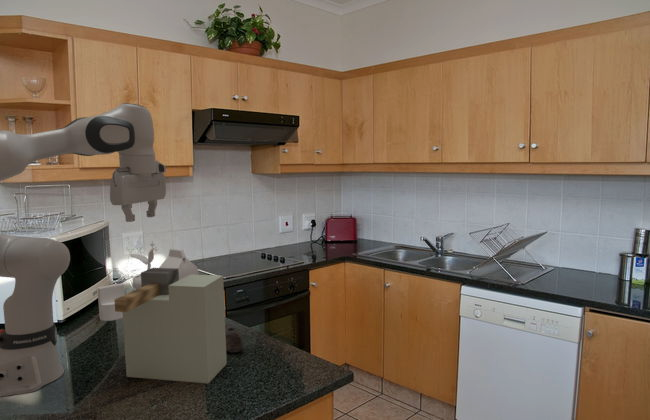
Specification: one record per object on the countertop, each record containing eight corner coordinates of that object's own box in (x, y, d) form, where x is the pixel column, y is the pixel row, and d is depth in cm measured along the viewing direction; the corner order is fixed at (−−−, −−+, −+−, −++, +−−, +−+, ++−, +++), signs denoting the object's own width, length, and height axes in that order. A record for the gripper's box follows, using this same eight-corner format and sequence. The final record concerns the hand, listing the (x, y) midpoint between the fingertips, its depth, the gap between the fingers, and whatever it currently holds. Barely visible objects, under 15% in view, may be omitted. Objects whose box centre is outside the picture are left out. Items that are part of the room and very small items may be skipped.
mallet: (135, 312, 113) (133, 288, 112) (106, 311, 115) (104, 287, 114) (179, 289, 133) (178, 268, 133) (154, 288, 135) (153, 267, 134)
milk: (156, 319, 174) (153, 250, 171) (181, 311, 183) (178, 245, 181) (178, 325, 167) (174, 254, 165) (202, 316, 177) (199, 248, 174)
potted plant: (167, 295, 206) (164, 239, 203) (155, 303, 194) (151, 243, 192) (140, 294, 207) (136, 239, 205) (126, 302, 196) (122, 243, 193)
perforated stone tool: (218, 340, 153) (218, 319, 152) (235, 337, 155) (234, 317, 154) (226, 357, 139) (225, 335, 138) (243, 355, 141) (242, 332, 140)
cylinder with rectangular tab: (103, 322, 172) (101, 290, 170) (96, 316, 179) (94, 285, 177) (128, 317, 177) (126, 286, 176) (121, 311, 184) (119, 281, 183)
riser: (208, 383, 123) (204, 287, 120) (126, 376, 128) (120, 283, 125) (226, 364, 134) (223, 275, 132) (151, 358, 139) (146, 273, 136)
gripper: (124, 167, 112) (127, 224, 114) (168, 166, 132) (171, 214, 134) (101, 168, 113) (105, 224, 115) (148, 166, 133) (151, 214, 135)
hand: (141, 219), depth 124 cm, fingers open, 8 cm apart
